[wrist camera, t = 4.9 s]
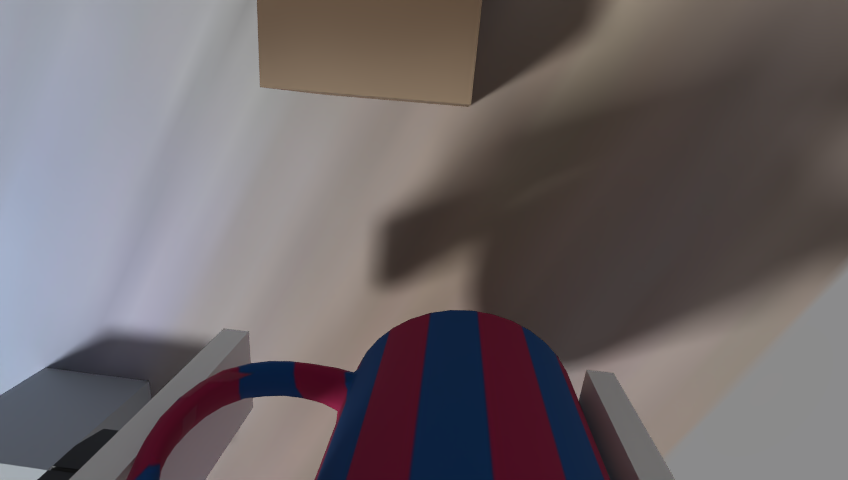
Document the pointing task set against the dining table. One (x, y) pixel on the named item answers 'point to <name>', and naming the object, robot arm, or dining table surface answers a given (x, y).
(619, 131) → the dining table surface
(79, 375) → the slate block
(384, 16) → the tan cube
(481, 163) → the dining table surface
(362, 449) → the mug
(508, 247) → the dining table surface
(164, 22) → the dining table surface
